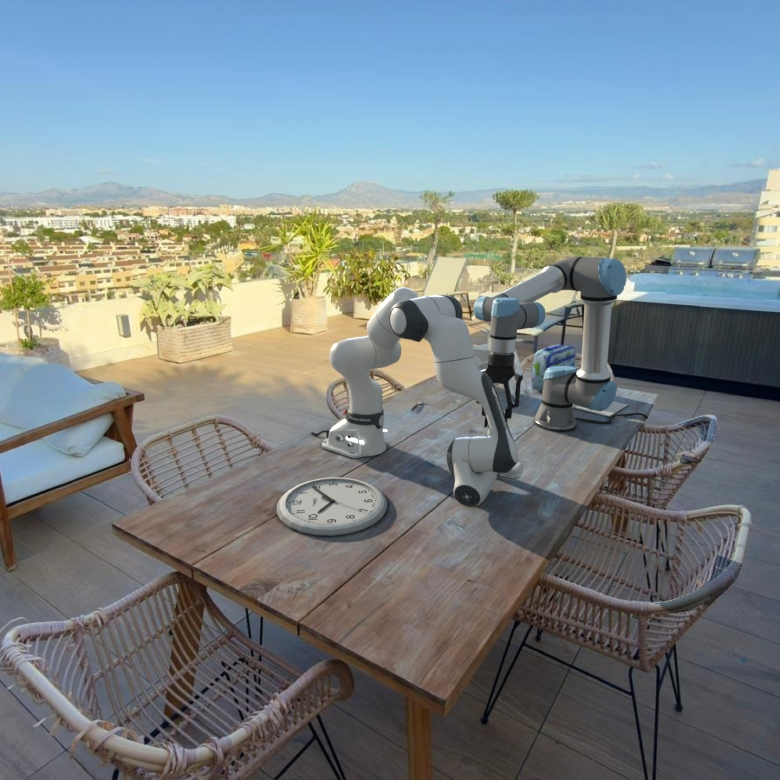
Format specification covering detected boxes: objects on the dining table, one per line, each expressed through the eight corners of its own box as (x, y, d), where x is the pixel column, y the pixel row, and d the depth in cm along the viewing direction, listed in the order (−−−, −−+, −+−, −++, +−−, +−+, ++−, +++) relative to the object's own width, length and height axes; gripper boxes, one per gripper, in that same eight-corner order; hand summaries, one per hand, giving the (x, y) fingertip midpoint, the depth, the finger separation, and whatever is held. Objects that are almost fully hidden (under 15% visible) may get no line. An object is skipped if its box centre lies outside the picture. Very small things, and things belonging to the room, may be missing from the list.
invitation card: (608, 416, 214) (573, 407, 224) (608, 416, 214) (573, 408, 224) (628, 404, 229) (594, 396, 238) (628, 405, 229) (594, 397, 238)
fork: (408, 411, 216) (408, 407, 215) (419, 400, 230) (419, 396, 229) (414, 412, 215) (414, 407, 214) (425, 401, 229) (425, 396, 229)
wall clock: (392, 527, 129) (268, 531, 127) (391, 533, 130) (269, 537, 127) (383, 473, 158) (282, 475, 155) (383, 478, 158) (282, 480, 156)
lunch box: (547, 397, 237) (552, 352, 231) (526, 391, 245) (531, 348, 238) (574, 386, 255) (580, 344, 249) (554, 381, 262) (559, 340, 256)
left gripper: (519, 469, 145) (528, 451, 157) (449, 455, 153) (463, 439, 165) (517, 489, 147) (526, 470, 159) (448, 475, 155) (461, 457, 167)
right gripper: (534, 351, 152) (526, 426, 159) (472, 346, 157) (467, 419, 164) (533, 357, 145) (525, 435, 152) (468, 352, 150) (463, 427, 157)
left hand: (493, 454), depth 162 cm, fingers closed on jar, 4 cm apart
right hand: (495, 426), depth 158 cm, fingers closed on lid, 5 cm apart
